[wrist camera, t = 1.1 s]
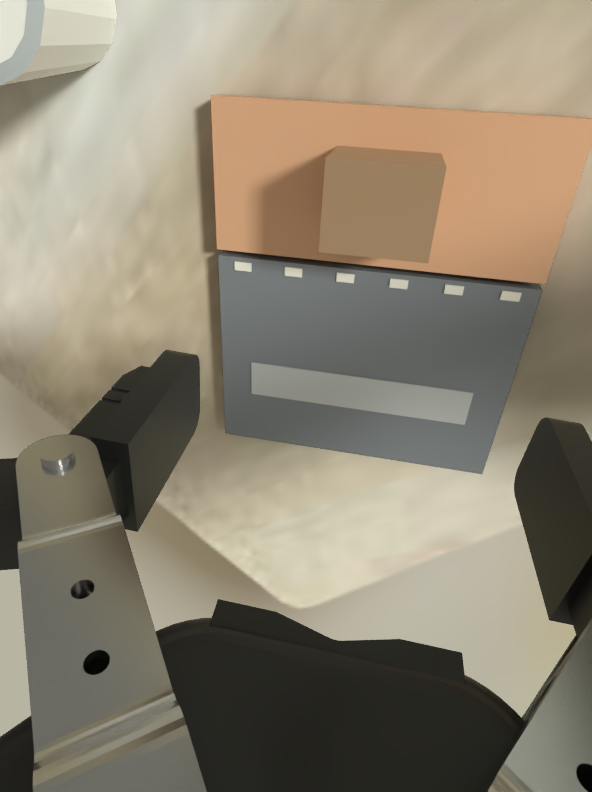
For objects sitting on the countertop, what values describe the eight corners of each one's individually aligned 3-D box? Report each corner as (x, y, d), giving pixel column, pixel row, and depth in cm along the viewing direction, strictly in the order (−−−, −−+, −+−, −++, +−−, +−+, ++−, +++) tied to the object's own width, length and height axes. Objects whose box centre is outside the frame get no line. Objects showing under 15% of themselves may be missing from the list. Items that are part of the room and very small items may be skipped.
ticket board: (537, 282, 28) (542, 291, 27) (480, 462, 35) (482, 475, 34) (224, 249, 30) (217, 255, 29) (230, 423, 37) (224, 434, 36)
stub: (591, 117, 23) (636, 128, 19) (540, 276, 27) (566, 317, 23) (218, 94, 26) (175, 98, 21) (223, 243, 30) (188, 274, 25)
